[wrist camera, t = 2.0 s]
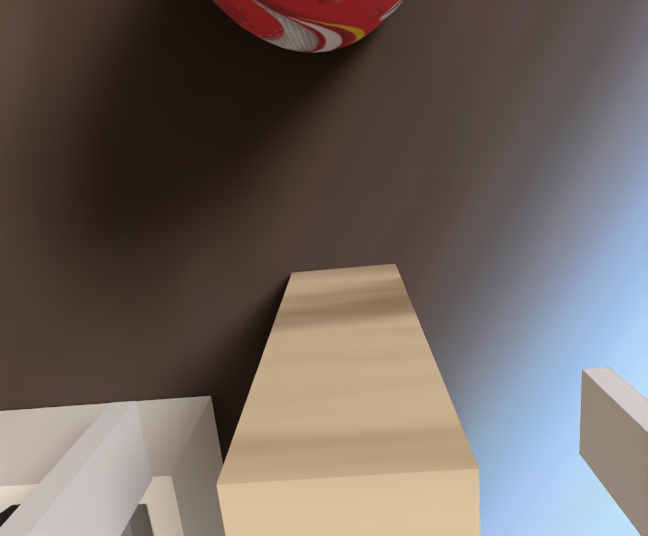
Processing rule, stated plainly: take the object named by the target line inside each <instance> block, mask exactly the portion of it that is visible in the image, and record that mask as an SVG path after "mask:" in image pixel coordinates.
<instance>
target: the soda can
mask: <svg viewBox="0 0 648 536" xmlns="http://www.w3.org/2000/svg"><path fill="white" fill-rule="evenodd" d="M213 1H214V2H215V3H216V4H217V5H218V6H219V7H220V8H221V9H222V10H223V11H224V12H225V13H226V14H227V15H228V16H229V17H231V18H232V19H233V20H234V21H235V22H237V23H238V24H239V25H240V26H241V27H242V28H244V29H245V30H247V31H249V32H250V33H252V34H254V35H255V36H257V37H258V38H261V39H263V40H265V41H267V42H270V43H272V44H275V45H277V46H280V47H282V48H285V49H289V50H294V51H298V52H314V53H316V52H324V51H332V50H335V49H338V48H342V47H345V46H348V45H350V44H352V43H354V42H356V41H358V40H360V39H362V38H363V37H365V36H366V35H368V34H369V33H370V32H372V31H373V30H375V29H376V28H377V27H378V26H379V25H380V24H381V23H382V22H383V21H384V20H385V19H386V18H387V17H388V16H389V15H391V14H392V13H393V12H394V11H395V10H396V9H397V7H398V6H399V5H400V3H401V2H402V1H403V0H213Z"/></svg>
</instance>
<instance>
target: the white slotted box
mask: <svg viewBox="0 0 648 536" xmlns="http://www.w3.org/2000/svg"><path fill="white" fill-rule="evenodd" d="M109 404H110V403H106V404H92V405H78V406H65V407H51V408H37V409H23V410H10V411H0V513H1V512H3V511H4V510H5V509H7V508H8V507H10V506H11V505H17V504H22V502H23V501H24V500H25V499H26V498H27V497H28V496H29V495H30V493H31V492H32V491H33V490H34V489H35V488H36V487H37V486H38V484H39V483H40V482H41V481H42V480H43V479H44V478H45V477H46V475H47V474H48V473H49V472H50V471H51V470H52V469H53V468H54V466H55V465H56V464H57V463H58V462H59V461H60V460H61V459H62V457H63V456H64V455H65V454H66V453H67V452H68V451H69V450H70V448H71V447H72V446H73V445H74V444H75V443H76V442H77V441H78V439H79V438H80V437H81V436H82V435H83V434H84V433H85V431H86V430H87V429H88V428H89V427H90V426H91V425H92V424H93V422H94V421H95V420H96V419H97V418H98V417H99V416H100V415H101V413H102V412H103V411H104V410H105V409H106V408H107V407H108V406H109ZM136 405H137V410H138V415H139V420H140V424H141V429H142V434H143V438H144V443H145V448H146V452H147V457H148V462H149V466H150V471H151V476H152V481H151V483H150V485H149V486H148V488H147V490H146V492H145V493H144V495H143V497H142V499H141V501H140V502H139V504H138V506H137V508H136V509H135V511H134V513H133V515H132V516H131V518H130V520H129V522H128V524H127V525H126V527H125V529H124V531H123V532H122V534H121V536H226V535H225V529H224V524H223V519H222V513H221V508H220V502H219V497H218V491H217V486H216V484H217V481H218V479H219V476H220V473H221V470H222V467H223V461H222V455H221V450H220V444H219V439H218V433H217V427H216V422H215V416H214V410H213V405H212V399H211V396H202V397H188V398H174V399H161V400H147V401H136Z"/></svg>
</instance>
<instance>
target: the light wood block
mask: <svg viewBox="0 0 648 536" xmlns="http://www.w3.org/2000/svg"><path fill="white" fill-rule="evenodd" d="M216 486H217V491H218V497H219V502H220V508H221V513H222V519H223V524H224V529H225V535H226V536H480V496H479V468H478V465H477V463H476V460H475V458H474V455H473V453H472V450H471V448H470V445H469V443H468V441H467V438H466V436H465V433H464V431H463V428H462V426H461V423H460V421H459V419H458V416H457V414H456V411H455V409H454V406H453V404H452V401H451V399H450V397H449V394H448V392H447V389H446V387H445V384H444V382H443V379H442V377H441V375H440V372H439V370H438V367H437V365H436V362H435V360H434V357H433V355H432V352H431V350H430V348H429V345H428V343H427V340H426V338H425V335H424V333H423V330H422V328H421V326H420V323H419V321H418V318H417V316H416V313H415V311H414V308H413V306H412V304H411V301H410V299H409V296H408V294H407V291H406V289H405V286H404V284H403V282H402V279H401V277H400V274H399V272H398V269H397V267H396V264H387V265H376V266H364V267H353V268H341V269H330V270H318V271H307V272H295V273H292V274H291V277H290V279H289V282H288V285H287V288H286V291H285V294H284V296H283V299H282V302H281V305H280V308H279V310H278V313H277V316H276V319H275V322H274V324H273V327H272V330H271V333H270V336H269V338H268V341H267V344H266V347H265V350H264V352H263V355H262V358H261V361H260V364H259V366H258V369H257V372H256V375H255V378H254V380H253V383H252V386H251V389H250V392H249V394H248V397H247V400H246V403H245V406H244V409H243V411H242V414H241V417H240V420H239V423H238V425H237V428H236V431H235V434H234V437H233V439H232V442H231V445H230V448H229V451H228V453H227V456H226V459H225V462H224V465H223V467H222V470H221V473H220V476H219V479H218V481H217V484H216Z"/></svg>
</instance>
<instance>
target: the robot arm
mask: <svg viewBox="0 0 648 536" xmlns="http://www.w3.org/2000/svg"><path fill="white" fill-rule="evenodd" d="M579 454H580V455H581V456H582V458H583V459H584V460H585V462H586V463H587V464H588V466H589V467H590V468H591V470H592V471H593V472H594V474H595V475H596V476H597V478H598V479H599V480H600V482H601V483H602V484H603V486H604V487H605V488H606V490H607V491H608V492H609V494H610V495H611V496H612V498H613V499H614V500H615V502H616V503H617V504H618V505H619V507H620V508H621V509H622V511H623V512H624V513H625V515H626V516H627V517H628V519H629V520H630V521H631V523H632V524H633V525H634V527H635V528H636V529H637V531H638V532H639V533H640V535H641V536H648V399H646V398H645V397H644V396H643V395H642V394H641V393H639V392H638V391H637V390H636V389H635V388H634V387H632V386H631V385H630V384H629V383H628V382H626V381H625V380H624V379H623V378H622V377H621V376H619V375H618V374H617V373H616V372H615V371H614V370H612V369H611V368H610V367H606V368H592V369H582V388H581V420H580V452H579ZM151 481H152V476H151V471H150V466H149V462H148V457H147V452H146V448H145V443H144V438H143V434H142V429H141V424H140V420H139V415H138V410H137V405H136V401H129V402H115V403H110V404H109V406H108V407H107V408H106V409H105V410H104V411H103V412H102V413H101V415H100V416H99V417H98V418H97V419H96V420H95V421H94V422H93V424H92V425H91V426H90V427H89V428H88V429H87V430H86V431H85V433H84V434H83V435H82V436H81V437H80V438H79V439H78V441H77V442H76V443H75V444H74V445H73V446H72V447H71V448H70V450H69V451H68V452H67V453H66V454H65V455H64V456H63V457H62V459H61V460H60V461H59V462H58V463H57V464H56V465H55V466H54V468H53V469H52V470H51V471H50V472H49V473H48V474H47V475H46V477H45V478H44V479H43V480H42V481H41V482H40V483H39V484H38V486H37V487H36V488H35V489H34V490H33V491H32V492H31V493H30V495H29V496H28V497H27V498H26V499H25V500H24V501H23V502H22V504H17V505H11V506H10V507H8V508H7V509H5V510H4V511H3V512H1V513H0V536H121V534H122V532H123V531H124V529H125V527H126V525H127V524H128V522H129V520H130V518H131V516H132V515H133V513H134V511H135V509H136V508H137V506H138V504H139V502H140V501H141V499H142V497H143V495H144V493H145V492H146V490H147V488H148V486H149V485H150V483H151Z"/></svg>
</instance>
